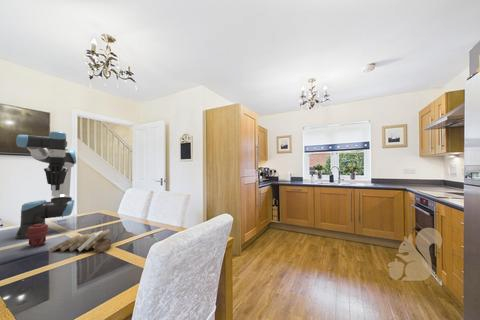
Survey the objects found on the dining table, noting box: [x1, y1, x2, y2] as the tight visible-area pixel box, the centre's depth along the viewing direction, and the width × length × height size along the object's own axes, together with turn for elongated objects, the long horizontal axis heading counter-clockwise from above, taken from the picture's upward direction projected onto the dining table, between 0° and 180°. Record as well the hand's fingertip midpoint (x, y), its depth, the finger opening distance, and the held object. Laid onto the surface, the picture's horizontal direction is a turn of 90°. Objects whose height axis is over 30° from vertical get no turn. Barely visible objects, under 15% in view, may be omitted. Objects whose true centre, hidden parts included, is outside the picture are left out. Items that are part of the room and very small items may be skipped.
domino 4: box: [77, 230, 103, 252], centre depth 108 cm, size 2×6×12 cm
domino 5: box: [84, 228, 111, 251], centre depth 108 cm, size 2×6×12 cm
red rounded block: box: [25, 223, 50, 249], centre depth 114 cm, size 12×10×10 cm
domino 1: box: [50, 234, 81, 253], centre depth 108 cm, size 2×6×12 cm
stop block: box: [93, 237, 112, 253], centre depth 108 cm, size 4×8×5 cm, turn 1°
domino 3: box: [68, 231, 97, 252], centre depth 108 cm, size 2×6×12 cm
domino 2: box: [60, 233, 90, 252], centre depth 108 cm, size 2×6×12 cm
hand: (55, 195), depth 115 cm, fingers closed
